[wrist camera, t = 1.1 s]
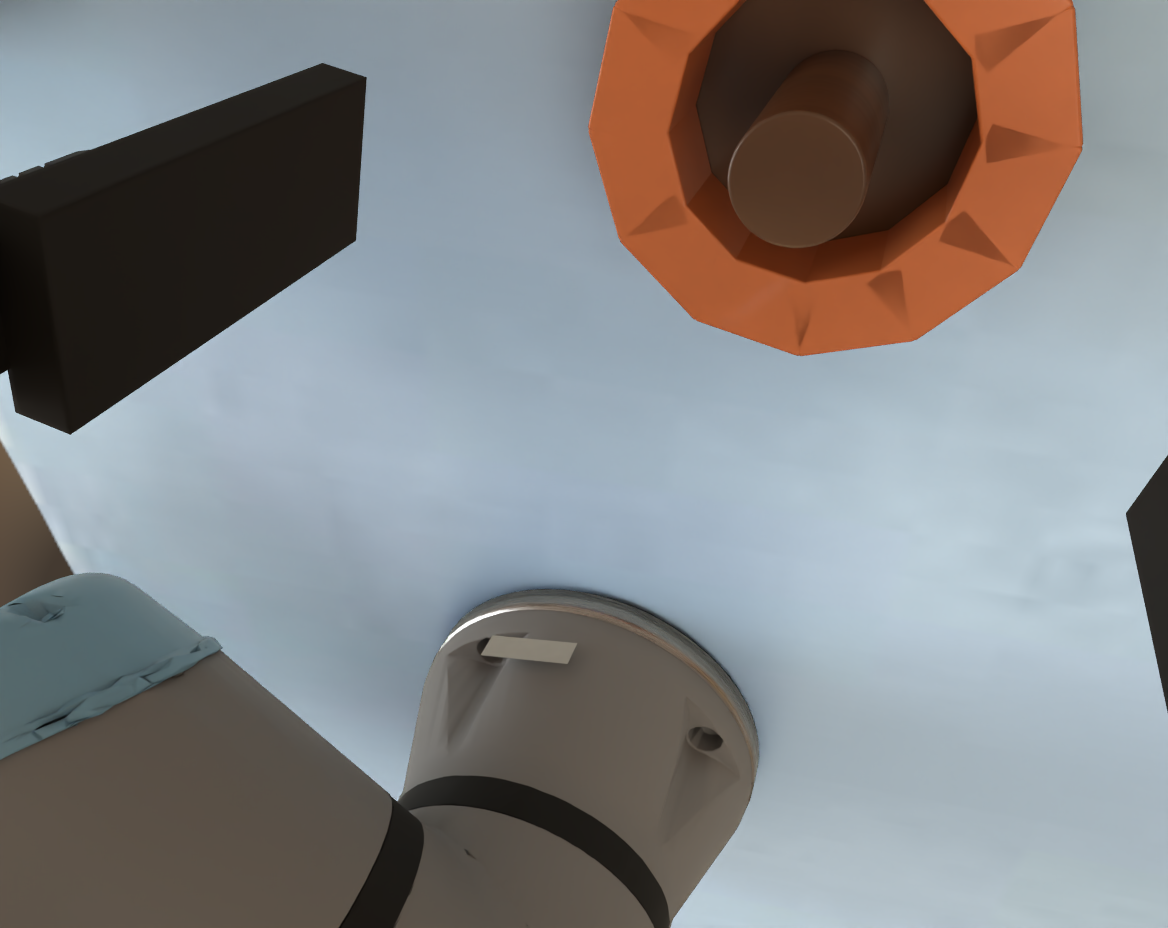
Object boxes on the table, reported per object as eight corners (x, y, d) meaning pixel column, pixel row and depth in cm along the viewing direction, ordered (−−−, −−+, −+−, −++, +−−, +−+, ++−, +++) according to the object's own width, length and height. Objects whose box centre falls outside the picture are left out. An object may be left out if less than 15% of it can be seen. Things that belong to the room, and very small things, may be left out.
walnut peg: (928, 266, 29) (914, 421, 21) (665, 180, 30) (563, 298, 23) (1069, -39, 24) (1114, 24, 16) (746, -129, 25) (651, -108, 18)
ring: (949, 357, 27) (947, 409, 25) (591, 235, 29) (556, 273, 26) (1165, -68, 21) (1189, -55, 18) (689, -197, 22) (655, -200, 20)
